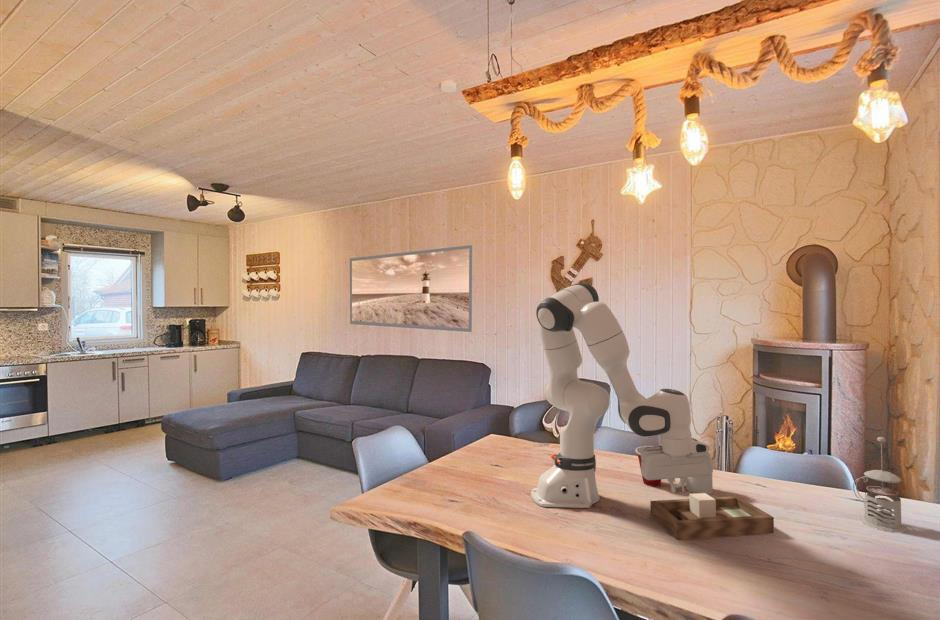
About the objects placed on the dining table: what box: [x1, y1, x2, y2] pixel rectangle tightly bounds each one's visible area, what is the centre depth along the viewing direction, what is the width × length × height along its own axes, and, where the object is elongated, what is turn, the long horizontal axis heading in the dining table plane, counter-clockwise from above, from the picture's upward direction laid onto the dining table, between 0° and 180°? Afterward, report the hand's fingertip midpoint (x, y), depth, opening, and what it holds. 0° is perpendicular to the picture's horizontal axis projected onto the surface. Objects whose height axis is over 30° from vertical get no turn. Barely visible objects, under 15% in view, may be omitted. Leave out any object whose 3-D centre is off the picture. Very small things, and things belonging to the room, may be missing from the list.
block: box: [689, 493, 716, 518], centre depth 137 cm, size 5×5×5 cm
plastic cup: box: [635, 445, 662, 487], centre depth 167 cm, size 11×11×12 cm
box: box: [649, 495, 775, 541], centre depth 135 cm, size 28×15×4 cm, turn 95°
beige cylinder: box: [685, 455, 714, 495], centre depth 160 cm, size 8×8×12 cm
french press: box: [852, 436, 907, 533], centre depth 134 cm, size 10×12×25 cm
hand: (677, 491), depth 136 cm, fingers closed
